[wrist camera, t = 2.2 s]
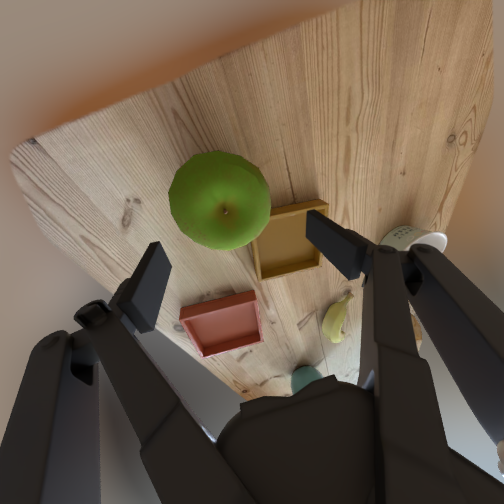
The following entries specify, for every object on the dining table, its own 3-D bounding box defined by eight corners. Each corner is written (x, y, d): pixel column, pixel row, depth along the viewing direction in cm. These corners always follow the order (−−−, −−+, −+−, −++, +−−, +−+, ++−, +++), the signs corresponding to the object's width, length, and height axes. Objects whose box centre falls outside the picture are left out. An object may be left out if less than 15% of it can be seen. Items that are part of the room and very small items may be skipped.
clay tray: (202, 347, 51) (201, 359, 48) (180, 307, 41) (178, 319, 38) (261, 331, 53) (263, 341, 50) (253, 289, 43) (257, 299, 40)
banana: (323, 355, 53) (349, 302, 46) (309, 340, 58) (331, 290, 50) (349, 342, 60) (375, 294, 53) (335, 330, 65) (358, 284, 57)
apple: (161, 182, 27) (137, 205, 18) (224, 127, 25) (233, 120, 16) (216, 237, 34) (220, 275, 24) (269, 197, 32) (294, 222, 22)
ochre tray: (255, 273, 40) (258, 282, 38) (246, 213, 32) (249, 220, 30) (314, 259, 42) (321, 267, 39) (319, 198, 34) (329, 203, 31)
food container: (417, 209, 40) (449, 220, 35) (418, 244, 47) (446, 258, 41) (369, 239, 42) (392, 254, 37) (377, 269, 49) (398, 285, 43)
